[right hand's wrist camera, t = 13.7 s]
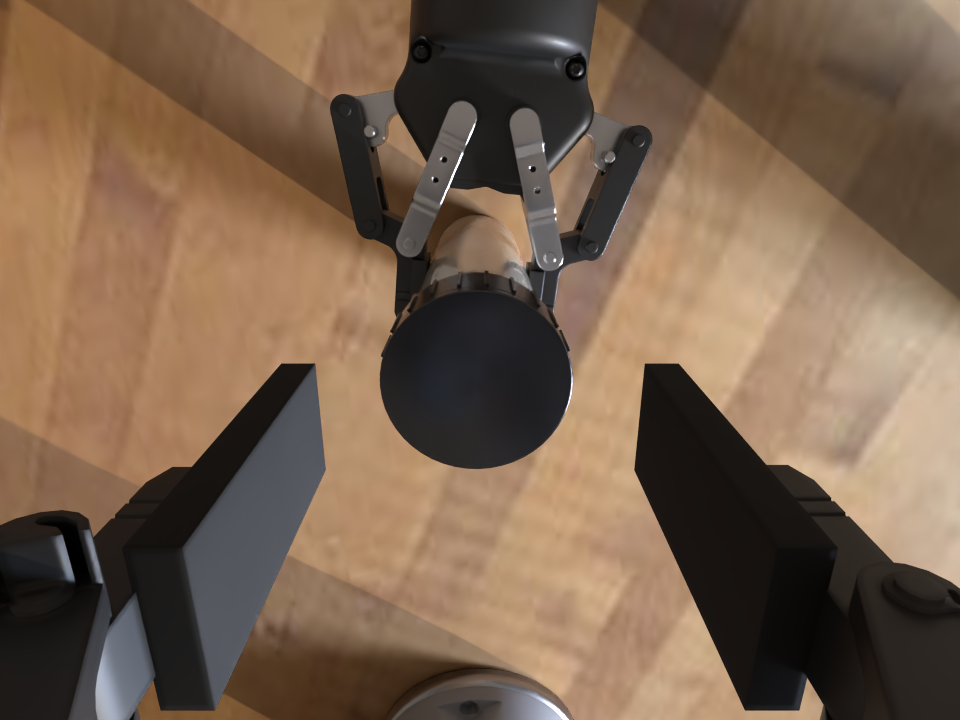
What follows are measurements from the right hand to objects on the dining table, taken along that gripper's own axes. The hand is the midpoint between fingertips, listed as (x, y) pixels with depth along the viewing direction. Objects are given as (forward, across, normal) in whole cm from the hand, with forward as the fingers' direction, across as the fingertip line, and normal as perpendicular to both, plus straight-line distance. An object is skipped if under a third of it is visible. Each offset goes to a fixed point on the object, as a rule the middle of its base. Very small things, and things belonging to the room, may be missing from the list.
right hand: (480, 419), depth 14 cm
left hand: (+16, 0, -3) cm, 16 cm away
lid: (+3, 0, 0) cm, 3 cm away
